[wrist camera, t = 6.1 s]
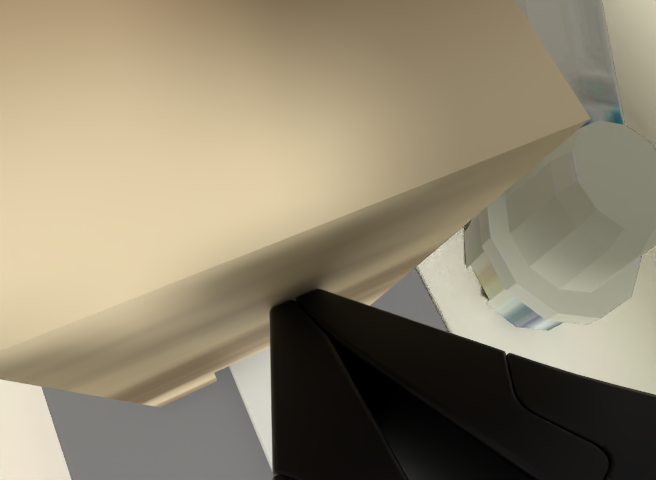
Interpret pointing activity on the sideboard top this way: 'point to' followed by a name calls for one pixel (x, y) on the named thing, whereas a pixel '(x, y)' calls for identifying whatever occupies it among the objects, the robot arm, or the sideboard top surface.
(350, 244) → the notched wooden block
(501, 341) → the sideboard top surface
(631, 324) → the sideboard top surface
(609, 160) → the grey flashlight
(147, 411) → the grey board
